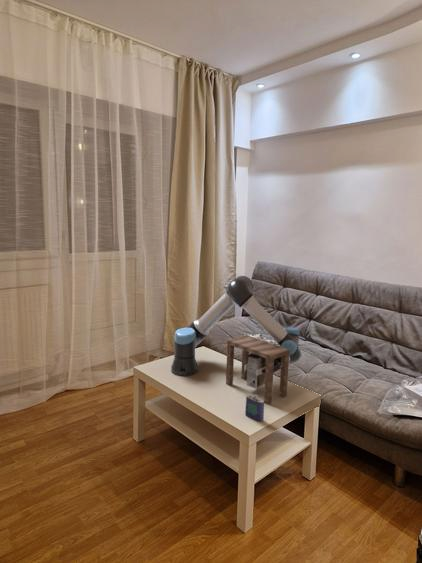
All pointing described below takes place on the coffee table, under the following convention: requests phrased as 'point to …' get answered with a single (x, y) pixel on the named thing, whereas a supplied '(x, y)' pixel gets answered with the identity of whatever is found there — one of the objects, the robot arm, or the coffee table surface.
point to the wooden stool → (264, 351)
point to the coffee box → (253, 365)
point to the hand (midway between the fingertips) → (250, 370)
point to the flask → (254, 408)
